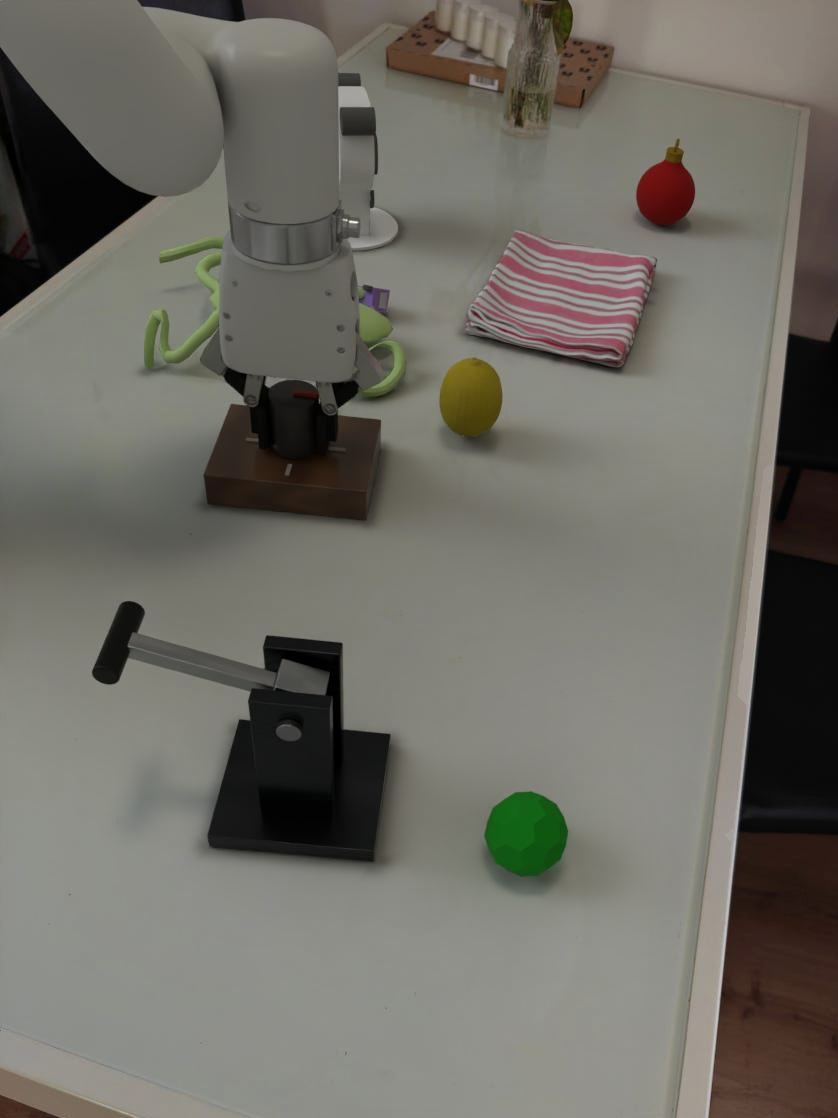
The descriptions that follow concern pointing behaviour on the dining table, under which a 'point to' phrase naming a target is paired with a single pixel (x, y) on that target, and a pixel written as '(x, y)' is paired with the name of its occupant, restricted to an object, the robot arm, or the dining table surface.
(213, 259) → the figurine
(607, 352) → the dish towel
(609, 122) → the dining table surface
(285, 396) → the valve knob
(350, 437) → the panel
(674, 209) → the christmas ornament
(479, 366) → the lemon
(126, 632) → the tap lever
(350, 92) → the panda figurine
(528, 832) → the polyhedron
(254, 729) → the black lever base
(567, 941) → the dining table surface
